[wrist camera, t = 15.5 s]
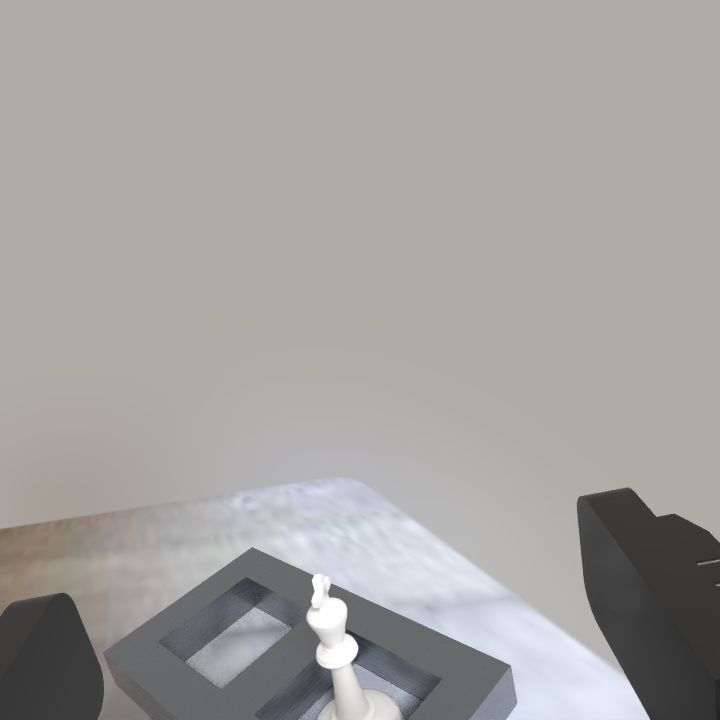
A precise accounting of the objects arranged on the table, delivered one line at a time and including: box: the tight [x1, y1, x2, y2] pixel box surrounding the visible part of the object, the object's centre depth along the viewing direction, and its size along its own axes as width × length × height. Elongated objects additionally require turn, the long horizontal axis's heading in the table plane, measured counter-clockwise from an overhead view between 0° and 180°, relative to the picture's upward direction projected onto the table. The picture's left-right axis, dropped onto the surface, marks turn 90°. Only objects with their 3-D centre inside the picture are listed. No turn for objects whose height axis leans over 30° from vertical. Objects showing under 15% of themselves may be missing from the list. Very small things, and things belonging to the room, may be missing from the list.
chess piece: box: [306, 574, 404, 720], centre depth 32 cm, size 5×5×10 cm
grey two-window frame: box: [103, 547, 517, 720], centre depth 37 cm, size 12×22×2 cm, turn 47°
